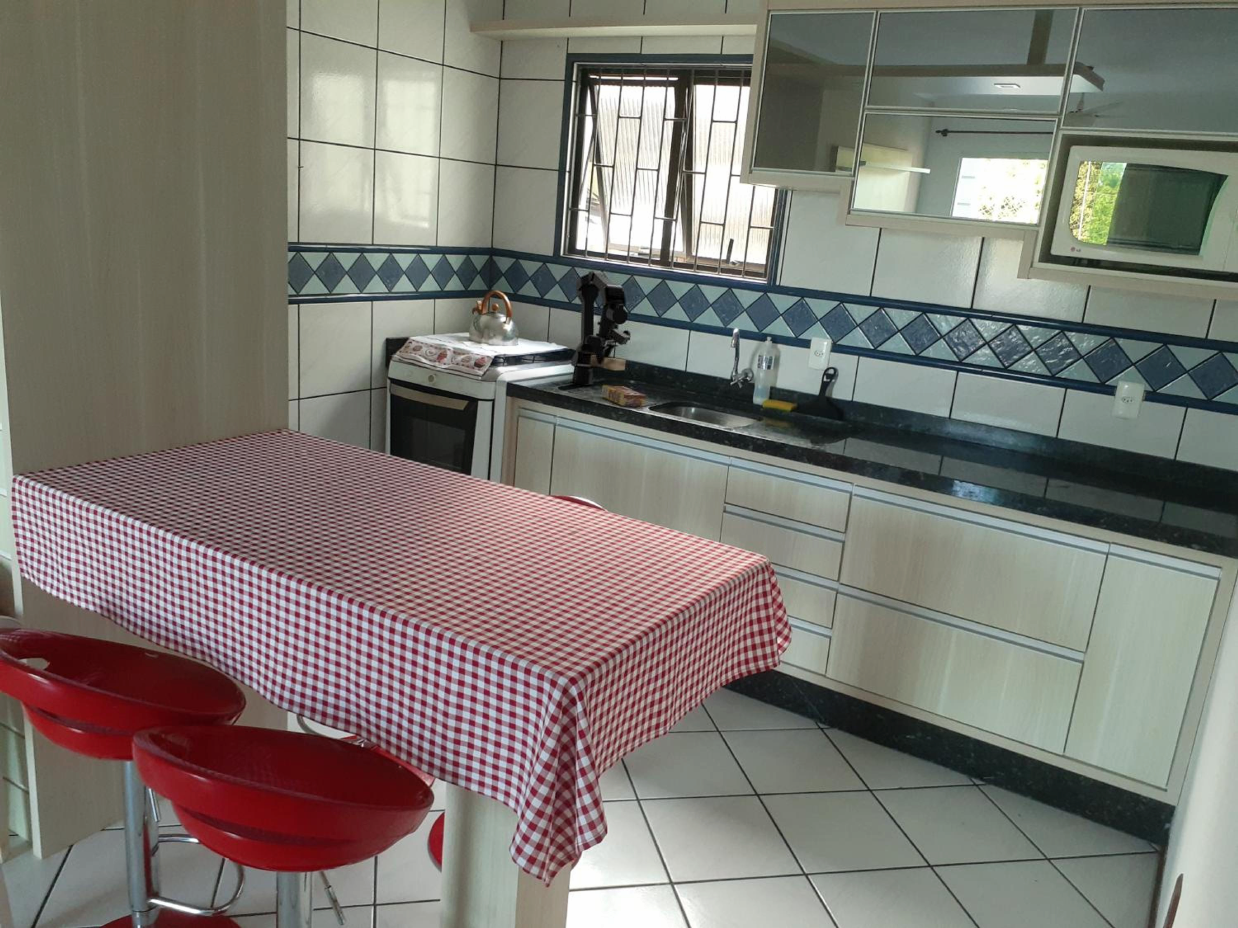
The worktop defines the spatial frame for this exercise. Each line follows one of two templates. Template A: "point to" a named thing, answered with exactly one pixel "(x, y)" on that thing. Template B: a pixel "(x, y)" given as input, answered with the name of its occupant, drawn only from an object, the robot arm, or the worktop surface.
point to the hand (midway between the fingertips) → (602, 363)
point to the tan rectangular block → (609, 363)
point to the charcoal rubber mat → (647, 403)
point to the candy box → (623, 395)
